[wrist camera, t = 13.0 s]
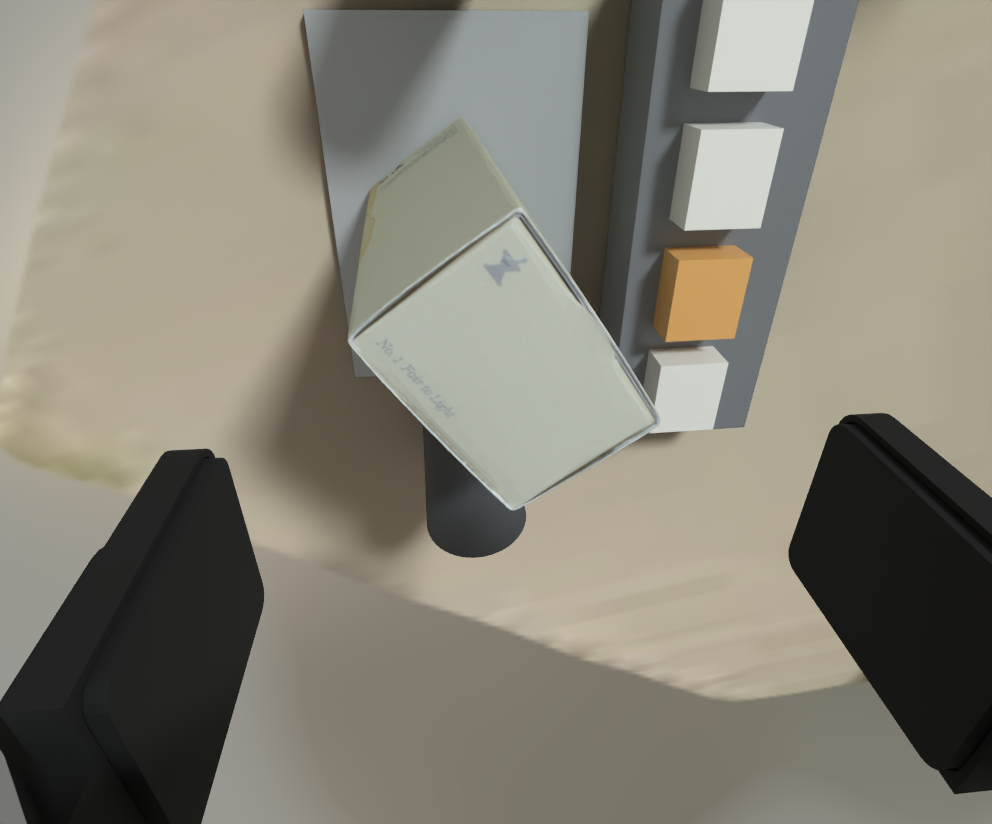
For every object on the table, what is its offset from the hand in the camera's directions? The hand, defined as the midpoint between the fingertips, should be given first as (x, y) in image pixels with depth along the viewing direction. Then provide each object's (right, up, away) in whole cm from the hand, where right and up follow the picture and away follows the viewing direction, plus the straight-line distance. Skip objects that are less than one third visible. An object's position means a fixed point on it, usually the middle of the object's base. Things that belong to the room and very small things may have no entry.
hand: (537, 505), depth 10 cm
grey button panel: (+2, +9, +14) cm, 17 cm away
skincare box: (-2, +9, +13) cm, 16 cm away
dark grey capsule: (-2, +1, +18) cm, 18 cm away
